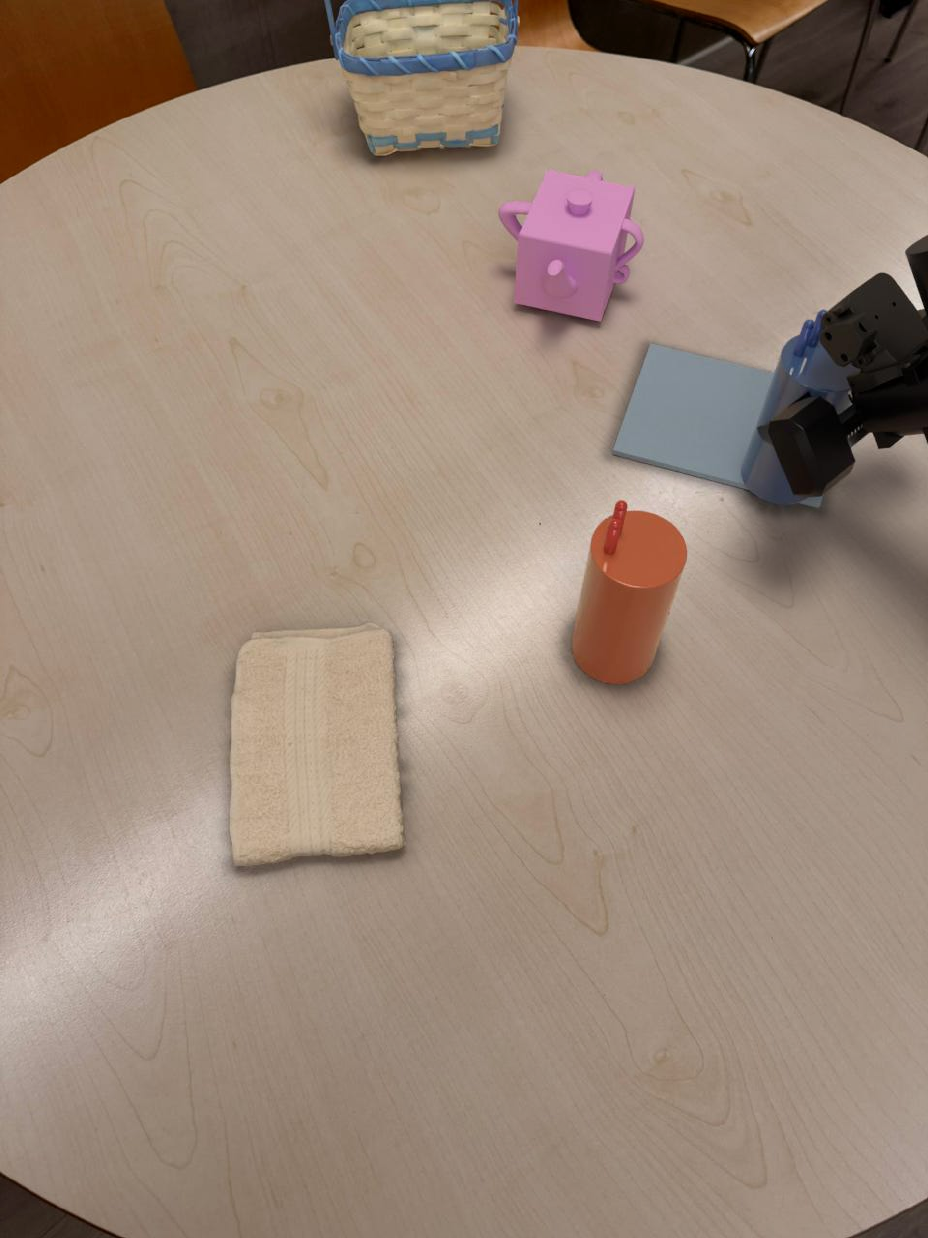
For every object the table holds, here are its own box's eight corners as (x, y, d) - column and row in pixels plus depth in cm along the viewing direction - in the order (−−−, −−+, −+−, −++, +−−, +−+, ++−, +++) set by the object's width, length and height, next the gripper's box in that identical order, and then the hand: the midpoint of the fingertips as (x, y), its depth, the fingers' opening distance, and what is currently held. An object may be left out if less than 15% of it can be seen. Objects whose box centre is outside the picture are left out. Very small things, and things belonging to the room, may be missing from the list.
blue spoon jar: (832, 478, 87) (901, 331, 74) (783, 517, 85) (845, 373, 71) (773, 435, 90) (829, 286, 76) (725, 472, 88) (774, 325, 74)
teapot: (610, 367, 95) (626, 278, 86) (467, 335, 97) (468, 245, 88) (649, 247, 104) (667, 155, 96) (518, 219, 106) (524, 128, 98)
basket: (509, 84, 119) (521, -152, 100) (522, 170, 111) (538, -70, 91) (331, 88, 119) (306, -149, 99) (330, 175, 110) (303, -66, 90)
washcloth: (393, 633, 79) (391, 611, 77) (411, 857, 70) (409, 841, 67) (238, 646, 79) (231, 625, 76) (235, 874, 69) (226, 859, 66)
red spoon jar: (662, 626, 80) (706, 495, 66) (643, 694, 77) (685, 571, 63) (583, 603, 81) (610, 469, 67) (561, 670, 78) (584, 543, 64)
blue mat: (841, 394, 93) (844, 389, 93) (819, 508, 86) (821, 503, 86) (649, 347, 96) (650, 342, 96) (611, 454, 89) (612, 449, 89)
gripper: (1004, 214, 70) (824, 267, 83) (832, 340, 63) (668, 375, 77) (1050, 364, 73) (870, 391, 87) (892, 497, 66) (724, 504, 80)
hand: (787, 411), depth 82 cm, fingers closed on blue spoon jar, 6 cm apart
